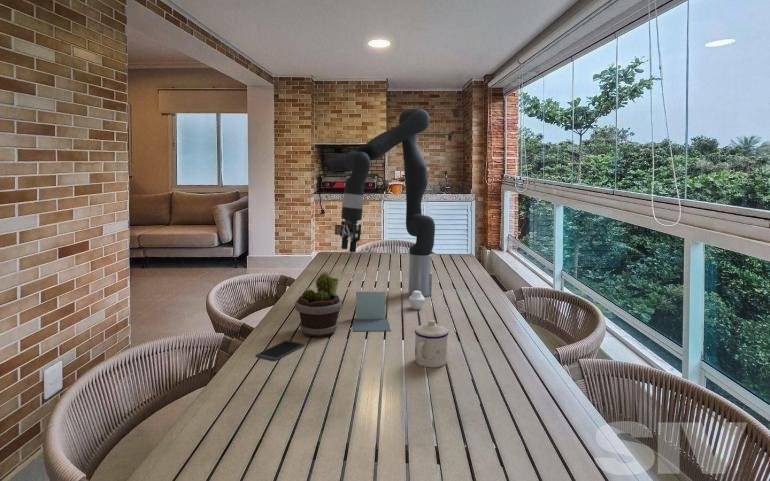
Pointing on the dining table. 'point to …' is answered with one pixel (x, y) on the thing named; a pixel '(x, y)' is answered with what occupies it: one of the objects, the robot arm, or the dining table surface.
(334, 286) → the plant pot
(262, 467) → the dining table surface
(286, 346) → the cell phone
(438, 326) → the teacup with lid
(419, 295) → the white citrus juicer
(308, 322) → the flowerpot
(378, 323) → the mat
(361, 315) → the tile
